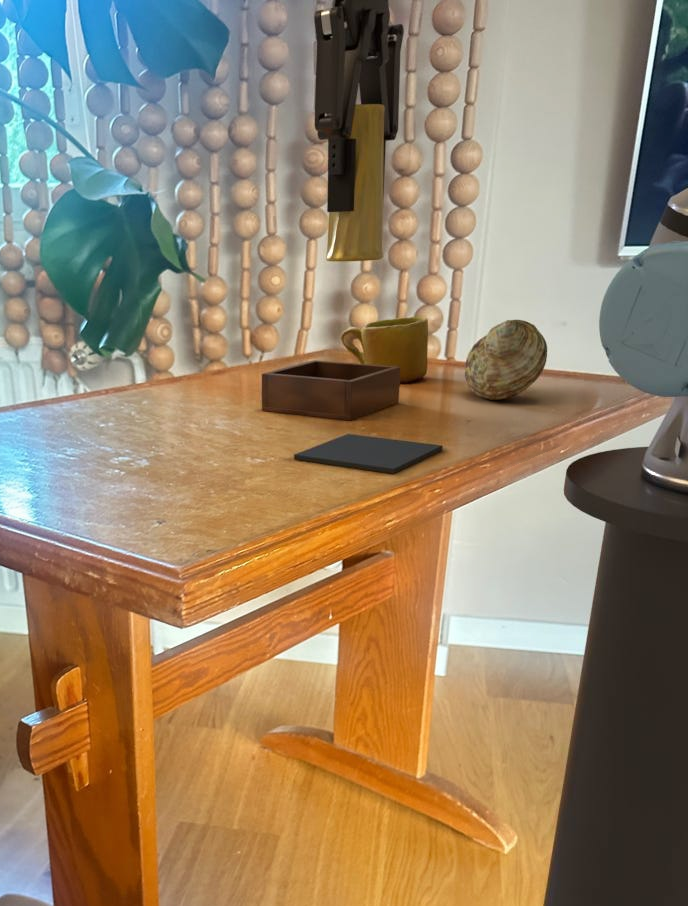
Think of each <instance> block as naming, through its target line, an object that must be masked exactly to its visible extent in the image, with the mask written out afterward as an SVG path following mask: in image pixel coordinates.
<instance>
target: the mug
mask: <svg viewBox="0 0 688 906" xmlns="http://www.w3.org/2000/svg"><path fill="white" fill-rule="evenodd" d="M340 340H341V344H342V345H343V346H344V347H345V348H346V350H348V351H349V352H350V353H351V354H352V355H353V356H354V357H355V358H356V359H357V361H358V363H359V364H371V365H385V366H398V367H401V371H400V384H405V383H411V382H413V381H415V380H420V379H423V378H424V377H426V375H427V373H428V347H429V321H428V318H427V317H425V316H411V317H410V316H409V317H398V318H391V319H390V318H389V319H388V318H387V319H382V320H376V321H372V322H369V323H366V324H365V325H364V326H363V327H362V328H360V327H358V326H350V327H348V328H347V329H346V330H344V331H343V332H342V333H341V336H340ZM354 340H359V343H360V345H361V347H362V352H363V353H362V352H361V351H360V350H359V347H357V346H355V343H353V342H354Z"/></svg>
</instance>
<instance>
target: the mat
mask: <svg viewBox="0 0 688 906" xmlns="http://www.w3.org/2000/svg"><path fill="white" fill-rule="evenodd" d="M443 447H444V446H443V445H442V444H435V443H427V442H426V443H425V442H419V441H418V442H417V441H410V440H402V439H401V440H400V439H392V438H386V437H378V436H377V437H376V436H370V435H361V434H354V433H353V434H352V433H346V434H344V435H341V436H339V437H336V438H334V439H330V440H328V441H325V442H322V443H320V444H318V445H315V446H313V447H311V448H310V447H309V448H307V449H305V450H302V451H299V452H297V453H295V454H293V460H296V461H302V462H303V461H304V462H308V463H309V462H310V463H316V464H323V465H330V466H336V467H343V468H344V467H346V468H349V469H356V470H357V469H358V470H364V471H371V472H378V473H384V474H391V475H392V474H393V475H394V474H396V473H398V472H400V471H403V470H404V469H407V468H409V467H411V466H412V465H415V464H417V463H419V462H421V461H423V460H425V459H427V458H429V457H431V456H434V455H436V454H437V453H440V452H442V451H443V449H444V448H443Z"/></svg>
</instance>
